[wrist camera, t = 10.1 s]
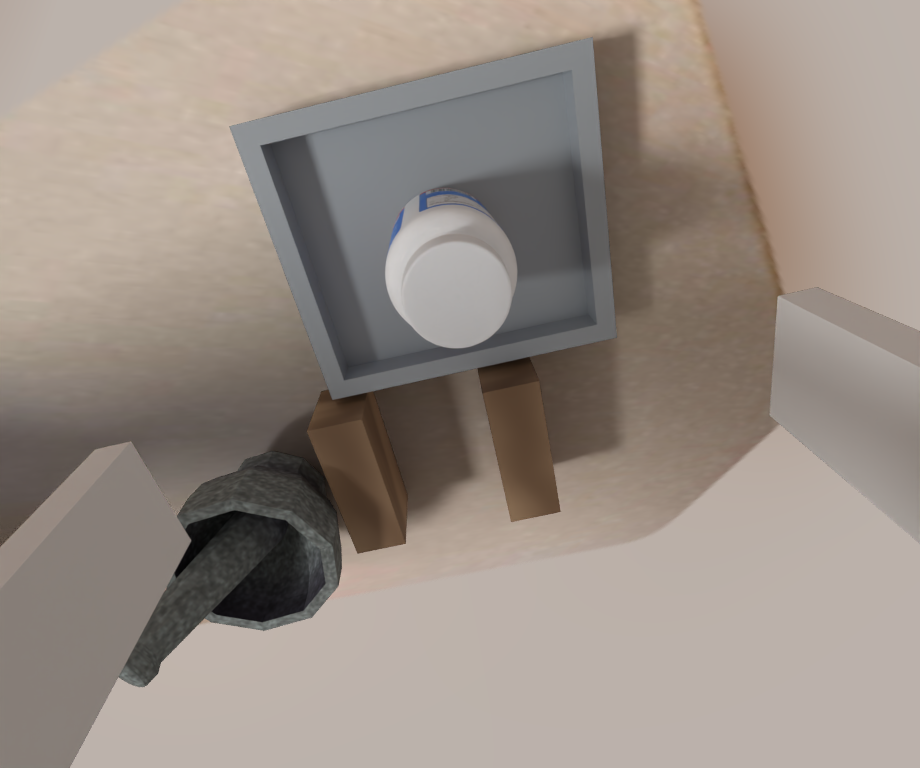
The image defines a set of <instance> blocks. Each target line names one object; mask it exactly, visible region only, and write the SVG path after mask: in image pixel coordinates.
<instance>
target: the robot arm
mask: <svg viewBox="0 0 920 768" xmlns="http://www.w3.org/2000/svg"><path fill="white" fill-rule="evenodd" d="M770 416H771V417H772V418H773V419H774V420H776V421H777V422H778V423H779V424H780V425H781V426H783V427H784V428H785V429H786V430H787V431H789V432H790V433H791V434H792V435H793V436H794V437H795V438H797V439H798V440H799V441H800V442H801V443H802V444H804V445H805V446H806V447H807V448H808V449H810V450H811V451H812V452H813V453H814V454H815V455H816V456H818V457H819V458H820V459H821V460H822V461H823V462H825V463H826V464H827V465H828V466H829V467H831V468H832V469H833V470H834V471H835V472H836V473H838V474H839V475H840V476H841V477H842V478H844V479H845V480H846V481H847V482H848V483H849V484H851V485H852V486H853V487H854V488H855V489H856V490H857V491H859V492H860V493H861V494H862V495H863V496H865V497H866V498H867V499H868V500H869V501H870V502H871V503H873V504H874V505H875V506H876V507H877V508H878V509H880V510H881V511H882V512H883V513H885V514H886V515H887V516H888V517H889V518H890V519H891V520H893V521H894V522H895V523H896V524H897V525H898V526H900V527H901V528H902V529H903V530H904V531H906V532H907V533H908V534H909V535H910V536H912V538H914V539H915V540H916V541H917V542H918V543H919V544H920V331H918V330H916V329H913V328H911V327H909V326H906V325H904V324H902V323H900V322H897V321H895V320H893V319H890V318H888V317H886V316H883V315H881V314H879V313H876V312H874V311H872V310H869V309H867V308H865V307H862V306H860V305H858V304H855V303H853V302H851V301H848V300H846V299H844V298H841V297H839V296H837V295H834V294H832V293H830V292H827V291H825V290H823V289H820V288H818V287H816V288H812V289H807V290H802V291H798V292H793V293H789V294H784V295H780V296H778V299H777V314H776V328H775V343H774V357H773V372H772V386H771V401H770ZM190 542H191V539H190V538H189V536H188V534H187V533H186V531H185V529H184V528H183V526H182V524H181V523H180V521H179V519H178V518H177V516H176V515H175V513H174V511H173V510H172V508H171V506H170V505H169V503H168V501H167V500H166V498H165V496H164V495H163V493H162V491H161V490H160V488H159V486H158V485H157V483H156V482H155V480H154V478H153V477H152V475H151V473H150V472H149V470H148V468H147V467H146V465H145V463H144V462H143V460H142V458H141V457H140V455H139V453H138V452H137V450H136V449H135V447H134V445H133V444H132V442H131V441H130V442H126V443H121V444H117V445H112V446H108V447H103V448H99V449H95V450H94V451H93V452H92V453H91V454H90V455H89V456H88V457H87V458H86V459H85V460H84V461H83V462H82V463H81V464H80V465H79V466H78V467H77V469H76V470H75V471H74V472H73V473H72V474H71V475H70V476H69V477H68V478H67V479H66V480H65V481H64V482H63V483H62V484H61V485H60V486H59V487H58V488H57V489H56V490H55V491H54V492H53V493H52V494H51V495H50V496H49V497H48V498H47V499H46V500H45V501H44V502H43V504H42V505H41V506H40V507H39V508H38V509H37V510H36V511H35V512H34V513H33V514H32V515H31V516H30V517H29V518H28V519H27V520H26V521H25V522H24V523H23V524H22V525H21V526H20V527H19V528H18V529H17V530H16V531H15V532H14V533H13V534H12V535H11V536H10V538H9V539H8V540H7V541H6V542H5V543H4V544H3V545H2V546H1V547H0V768H70V766H71V764H72V762H73V760H74V759H75V757H76V755H77V753H78V751H79V749H80V748H81V746H82V744H83V742H84V740H85V738H86V736H87V735H88V733H89V731H90V729H91V727H92V725H93V723H94V721H95V720H96V718H97V716H98V714H99V712H100V710H101V708H102V707H103V705H104V703H105V701H106V699H107V697H108V695H109V693H110V692H111V689H112V688H113V686H114V684H115V682H116V680H117V678H118V677H119V675H120V673H121V671H122V669H123V667H124V666H125V664H126V662H127V660H128V658H129V656H130V654H131V652H132V651H133V649H134V647H135V645H136V643H137V641H138V639H139V638H140V636H141V634H142V632H143V630H144V628H145V626H146V624H147V623H148V621H149V619H150V617H151V615H152V613H153V611H154V609H155V608H156V606H157V604H158V602H159V600H160V598H161V596H162V595H163V593H164V591H165V589H166V587H167V585H168V583H169V581H170V580H171V578H172V576H173V574H174V572H175V570H176V568H177V567H178V565H179V563H180V561H181V559H182V557H183V555H184V553H185V552H186V550H187V548H188V546H189V544H190Z"/></svg>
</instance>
